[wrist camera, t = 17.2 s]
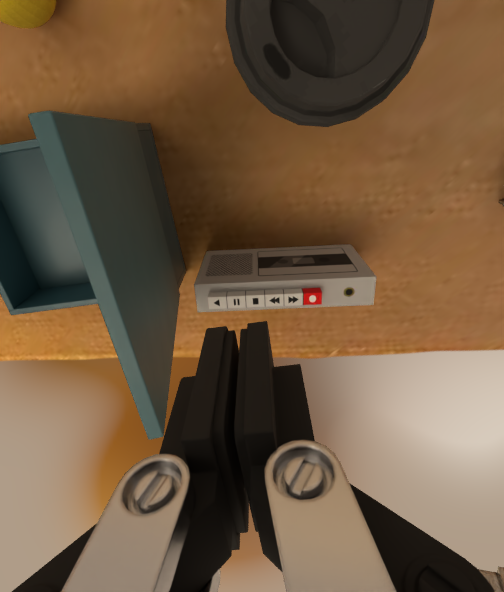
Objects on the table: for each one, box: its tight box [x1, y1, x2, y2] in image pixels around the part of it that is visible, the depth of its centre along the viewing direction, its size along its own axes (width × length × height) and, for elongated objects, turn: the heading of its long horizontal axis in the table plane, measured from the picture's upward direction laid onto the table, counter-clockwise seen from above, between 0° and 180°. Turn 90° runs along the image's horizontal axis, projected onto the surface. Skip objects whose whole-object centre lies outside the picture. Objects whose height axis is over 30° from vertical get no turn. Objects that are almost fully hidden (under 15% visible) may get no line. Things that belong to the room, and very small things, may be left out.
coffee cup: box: [226, 0, 434, 127], centre depth 25 cm, size 11×11×15 cm
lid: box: [28, 111, 180, 439], centre depth 23 cm, size 18×15×1 cm
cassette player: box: [194, 244, 376, 312], centre depth 35 cm, size 16×3×10 cm, turn 93°
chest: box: [0, 123, 186, 315], centre depth 35 cm, size 17×15×6 cm
